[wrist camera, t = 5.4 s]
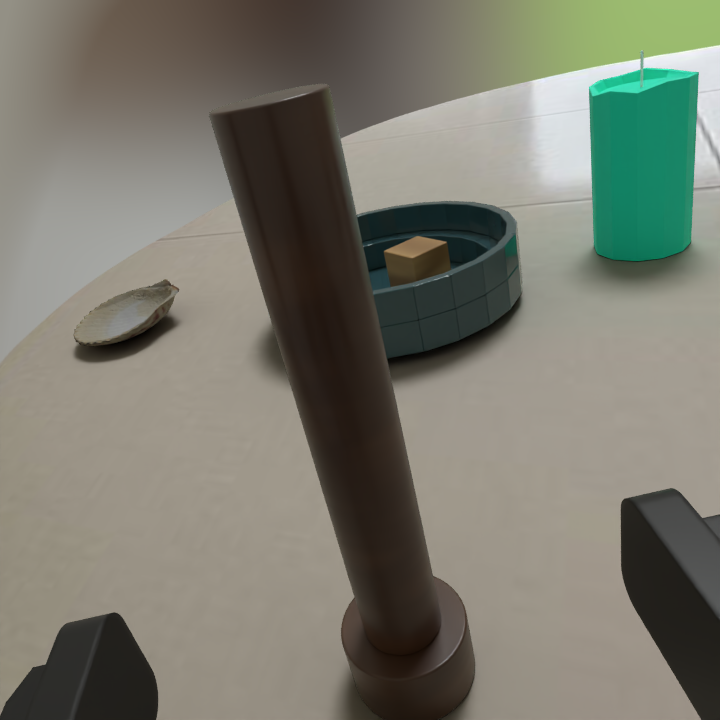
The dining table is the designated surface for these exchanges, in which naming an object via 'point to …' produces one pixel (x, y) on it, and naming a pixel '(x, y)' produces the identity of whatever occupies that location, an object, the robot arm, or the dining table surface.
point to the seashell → (126, 315)
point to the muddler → (345, 397)
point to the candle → (643, 162)
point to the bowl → (448, 290)
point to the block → (416, 260)
